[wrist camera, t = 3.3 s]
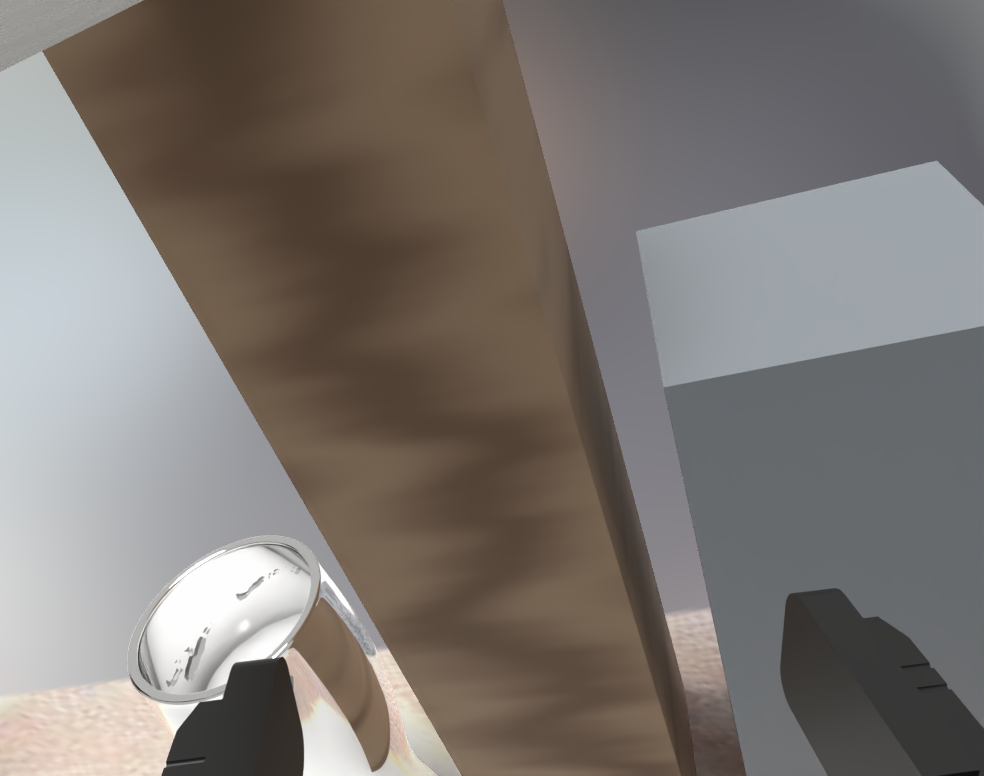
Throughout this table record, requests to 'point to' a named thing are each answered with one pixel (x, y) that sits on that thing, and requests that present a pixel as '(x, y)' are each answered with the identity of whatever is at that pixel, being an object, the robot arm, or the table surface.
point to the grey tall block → (830, 423)
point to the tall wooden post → (406, 348)
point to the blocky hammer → (48, 23)
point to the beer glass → (273, 653)
